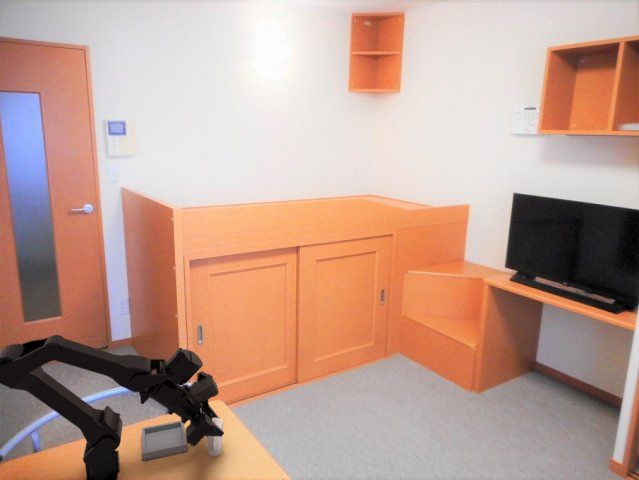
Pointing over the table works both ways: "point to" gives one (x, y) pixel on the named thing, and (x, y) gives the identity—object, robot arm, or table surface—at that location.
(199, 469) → the table surface
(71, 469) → the table surface
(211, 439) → the milkshake
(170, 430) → the tray
